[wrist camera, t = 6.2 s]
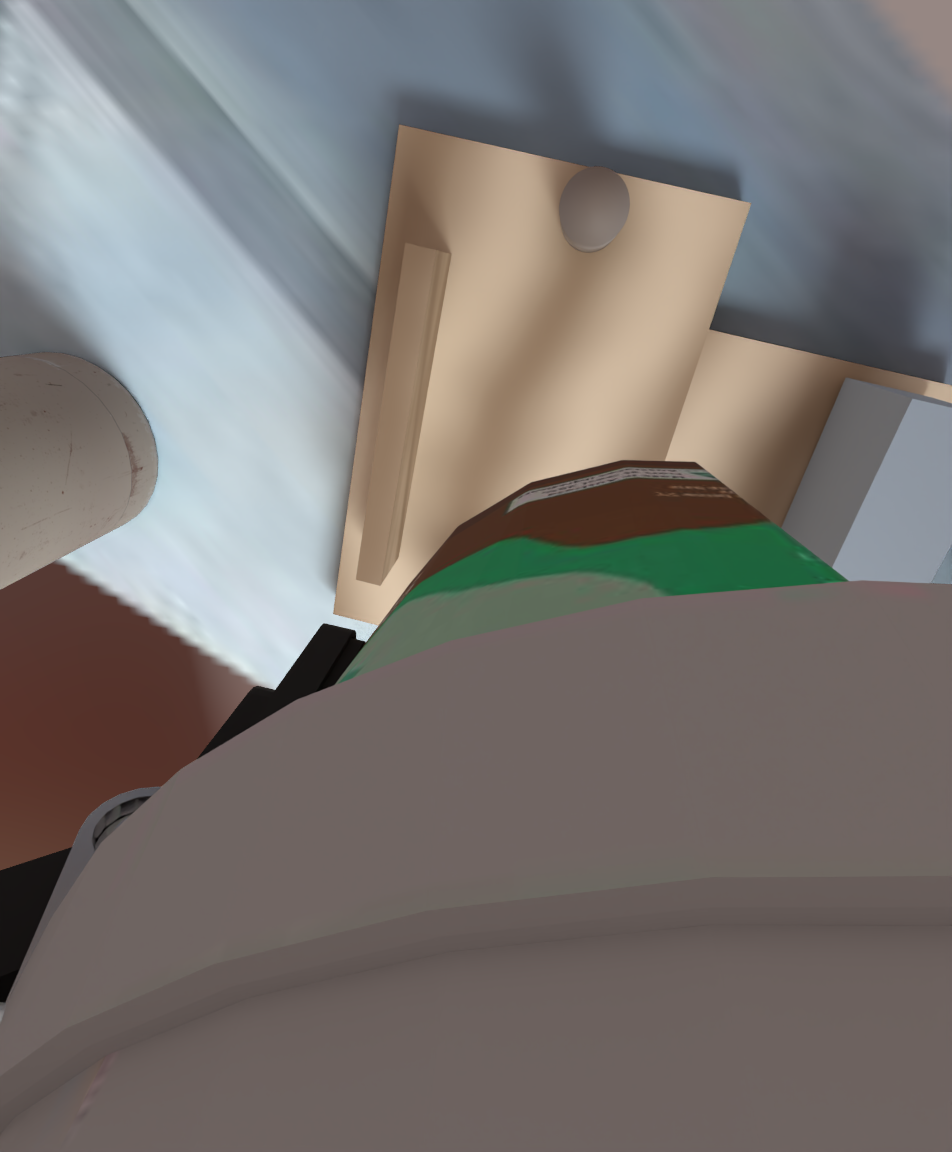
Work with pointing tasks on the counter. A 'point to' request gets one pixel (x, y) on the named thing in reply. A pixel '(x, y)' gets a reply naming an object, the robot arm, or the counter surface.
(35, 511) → the thermos bottle
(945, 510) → the block
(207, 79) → the counter surface
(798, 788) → the food container
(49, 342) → the counter surface
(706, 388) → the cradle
